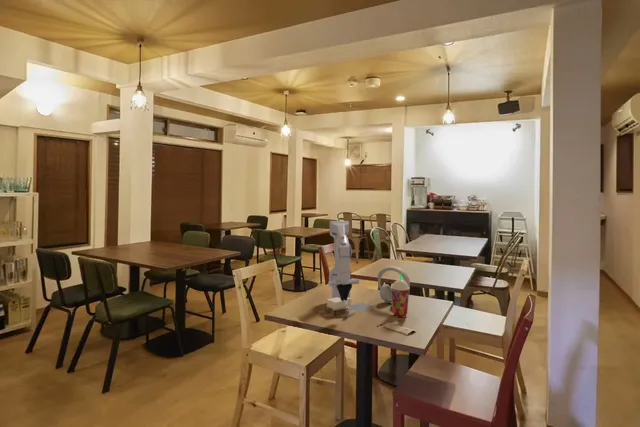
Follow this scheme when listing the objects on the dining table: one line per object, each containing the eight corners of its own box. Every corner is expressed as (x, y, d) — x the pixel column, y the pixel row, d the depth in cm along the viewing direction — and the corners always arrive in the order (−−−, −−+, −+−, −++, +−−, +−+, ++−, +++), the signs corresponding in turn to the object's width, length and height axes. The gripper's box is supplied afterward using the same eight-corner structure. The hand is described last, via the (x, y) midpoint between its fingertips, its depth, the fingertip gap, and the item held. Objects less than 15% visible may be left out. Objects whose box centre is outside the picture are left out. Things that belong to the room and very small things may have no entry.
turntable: (311, 311, 189) (311, 303, 189) (341, 305, 199) (341, 297, 198) (331, 322, 174) (331, 314, 173) (363, 315, 183) (363, 307, 183)
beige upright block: (334, 315, 182) (335, 302, 181) (327, 311, 187) (327, 299, 187) (354, 310, 189) (354, 298, 188) (346, 307, 194) (346, 295, 193)
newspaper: (365, 321, 178) (365, 318, 178) (375, 318, 183) (375, 314, 183) (407, 337, 160) (407, 333, 160) (417, 332, 165) (417, 328, 165)
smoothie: (409, 313, 187) (410, 273, 186) (407, 319, 180) (408, 276, 178) (392, 311, 190) (393, 271, 189) (389, 317, 182) (390, 275, 181)
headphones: (374, 302, 205) (374, 265, 204) (381, 299, 211) (382, 263, 210) (405, 309, 193) (405, 270, 192) (412, 305, 199) (413, 267, 198)
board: (357, 302, 205) (357, 300, 205) (382, 312, 188) (382, 310, 188) (308, 312, 190) (308, 309, 190) (330, 324, 173) (330, 322, 173)
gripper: (332, 274, 170) (332, 304, 172) (362, 271, 175) (361, 301, 176) (326, 270, 177) (326, 299, 178) (355, 268, 182) (355, 296, 183)
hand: (343, 300), depth 178 cm, fingers closed
